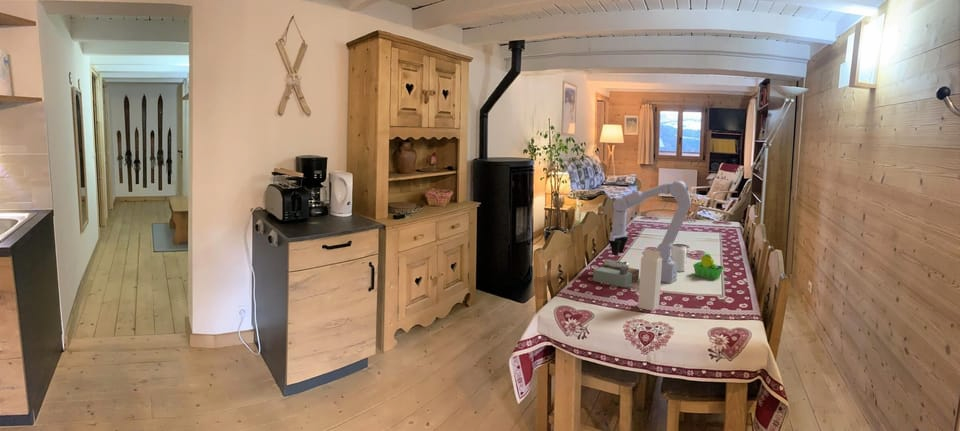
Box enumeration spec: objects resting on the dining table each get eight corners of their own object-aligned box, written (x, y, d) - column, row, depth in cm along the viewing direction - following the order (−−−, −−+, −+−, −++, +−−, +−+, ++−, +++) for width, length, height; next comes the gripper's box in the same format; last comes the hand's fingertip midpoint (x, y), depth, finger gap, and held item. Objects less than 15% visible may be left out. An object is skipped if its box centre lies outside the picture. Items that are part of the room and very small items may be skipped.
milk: (643, 303, 213) (647, 247, 209) (659, 307, 209) (663, 250, 206) (637, 307, 208) (641, 250, 204) (653, 311, 204) (657, 253, 201)
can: (685, 272, 256) (687, 247, 254) (671, 271, 258) (673, 246, 255) (683, 268, 263) (685, 244, 260) (669, 267, 264) (671, 243, 262)
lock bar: (629, 267, 242) (629, 261, 242) (626, 269, 240) (627, 263, 240) (606, 263, 249) (606, 257, 248) (603, 264, 247) (603, 258, 246)
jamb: (638, 280, 243) (639, 269, 242) (632, 283, 238) (633, 272, 237) (606, 274, 252) (607, 263, 251) (600, 277, 247) (600, 265, 246)
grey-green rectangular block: (631, 284, 237) (632, 267, 236) (625, 287, 232) (626, 270, 231) (599, 277, 246) (600, 261, 245) (592, 280, 241) (593, 264, 240)
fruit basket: (723, 277, 249) (725, 253, 247) (716, 281, 243) (718, 256, 241) (698, 272, 257) (700, 248, 255) (690, 276, 251) (692, 251, 249)
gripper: (618, 220, 257) (616, 249, 259) (603, 225, 245) (602, 255, 248) (632, 222, 252) (630, 251, 255) (618, 227, 241) (616, 257, 244)
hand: (617, 253), depth 251 cm, fingers open, 5 cm apart
